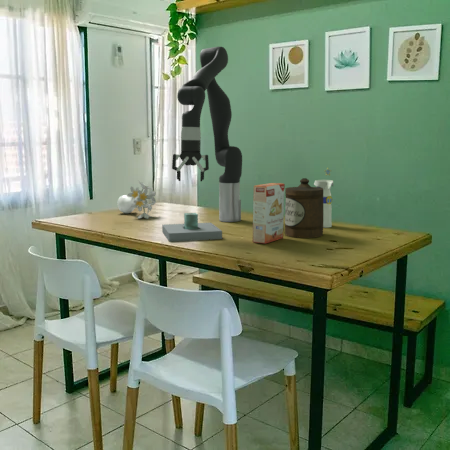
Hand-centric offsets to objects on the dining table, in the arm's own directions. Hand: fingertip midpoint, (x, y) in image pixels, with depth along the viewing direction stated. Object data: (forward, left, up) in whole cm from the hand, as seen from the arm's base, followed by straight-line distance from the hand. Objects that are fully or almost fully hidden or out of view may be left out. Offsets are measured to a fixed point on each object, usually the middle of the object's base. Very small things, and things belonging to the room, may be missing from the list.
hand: (190, 181), depth 217 cm
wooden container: (-42, +14, -21) cm, 49 cm away
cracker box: (-25, +22, -21) cm, 39 cm away
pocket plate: (+1, +5, -21) cm, 21 cm away
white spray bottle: (-57, -2, -21) cm, 61 cm away
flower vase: (+18, -52, -21) cm, 59 cm away
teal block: (+1, +5, -21) cm, 21 cm away
